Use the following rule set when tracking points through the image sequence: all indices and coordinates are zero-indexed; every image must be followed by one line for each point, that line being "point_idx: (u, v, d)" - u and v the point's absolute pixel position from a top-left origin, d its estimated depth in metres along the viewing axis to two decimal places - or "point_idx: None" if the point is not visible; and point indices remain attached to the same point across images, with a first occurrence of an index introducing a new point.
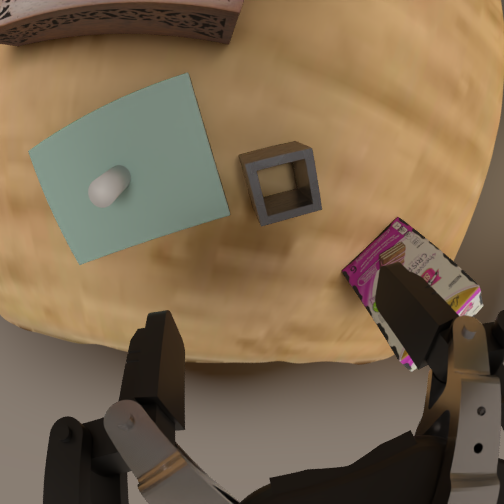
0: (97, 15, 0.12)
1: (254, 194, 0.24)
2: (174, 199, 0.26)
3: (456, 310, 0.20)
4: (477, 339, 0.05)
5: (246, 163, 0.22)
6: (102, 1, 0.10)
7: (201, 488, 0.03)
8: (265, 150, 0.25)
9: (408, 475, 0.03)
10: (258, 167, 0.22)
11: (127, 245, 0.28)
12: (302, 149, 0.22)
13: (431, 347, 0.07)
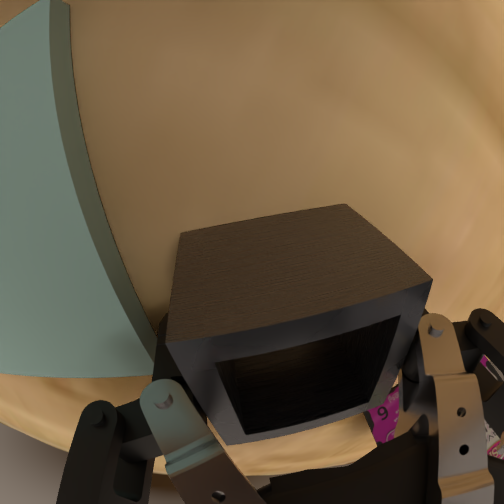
0: None
1: (207, 409, 0.06)
2: (36, 328, 0.09)
3: None
4: (444, 338, 0.06)
5: (174, 333, 0.05)
6: None
7: (231, 475, 0.04)
8: (260, 236, 0.08)
9: (408, 475, 0.03)
10: (223, 354, 0.05)
11: None
12: (401, 280, 0.06)
13: None
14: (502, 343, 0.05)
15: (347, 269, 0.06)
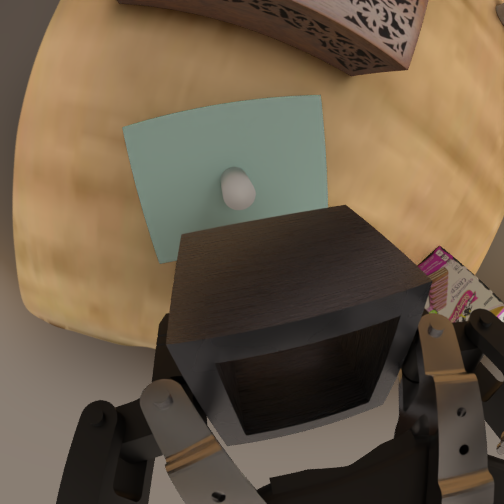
0: (266, 7, 0.14)
1: (208, 409, 0.06)
2: (284, 210, 0.28)
3: None
4: (444, 338, 0.06)
5: (174, 335, 0.05)
6: (299, 1, 0.12)
7: (231, 475, 0.04)
8: (260, 237, 0.08)
9: (408, 475, 0.03)
10: (223, 355, 0.05)
11: None
12: (401, 282, 0.06)
13: None
14: (502, 343, 0.05)
15: (347, 270, 0.06)
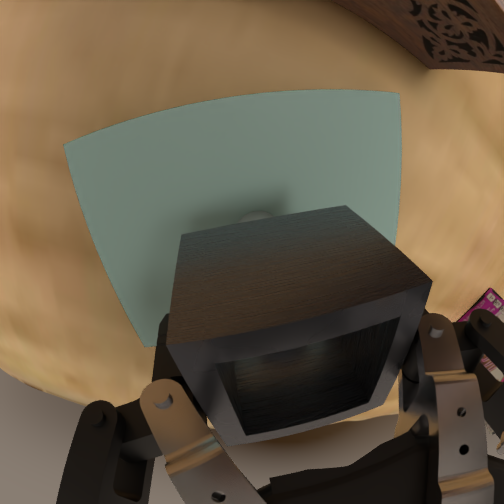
0: None
1: (208, 410, 0.06)
2: None
3: None
4: (444, 338, 0.06)
5: (174, 335, 0.05)
6: None
7: (231, 474, 0.04)
8: (260, 237, 0.08)
9: (408, 475, 0.03)
10: (223, 356, 0.05)
11: None
12: (401, 282, 0.06)
13: None
14: (502, 343, 0.05)
15: (347, 271, 0.06)
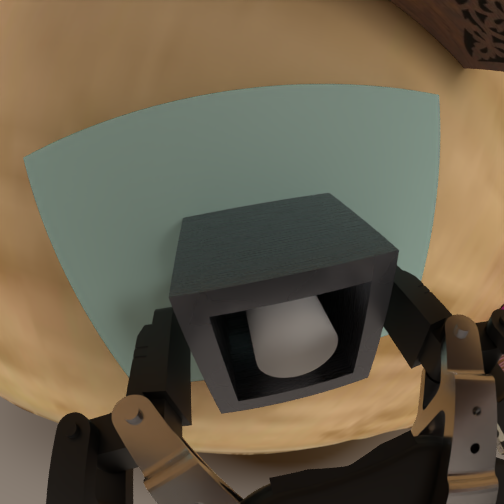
0: None
1: (203, 368, 0.08)
2: None
3: None
4: (470, 338, 0.05)
5: (176, 290, 0.06)
6: None
7: (208, 485, 0.03)
8: (251, 218, 0.10)
9: (408, 475, 0.03)
10: (216, 308, 0.07)
11: None
12: (369, 250, 0.07)
13: (424, 346, 0.07)
14: None
15: (323, 242, 0.07)
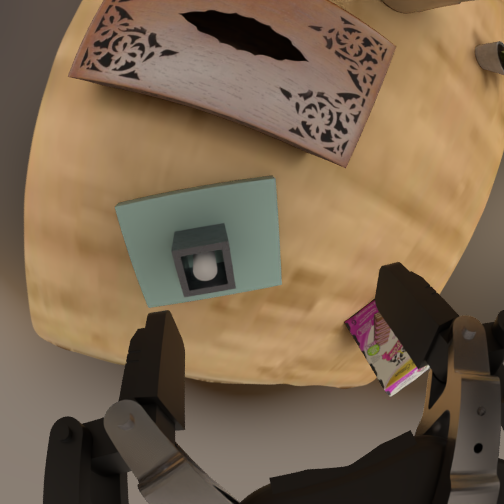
0: (225, 115, 0.22)
1: (178, 274, 0.29)
2: (244, 270, 0.36)
3: None
4: (477, 339, 0.05)
5: (173, 250, 0.28)
6: (249, 121, 0.20)
7: (201, 488, 0.03)
8: (195, 232, 0.31)
9: (408, 475, 0.03)
10: (182, 254, 0.28)
11: (198, 298, 0.37)
12: (220, 241, 0.28)
13: (431, 347, 0.07)
14: None
15: (210, 239, 0.29)
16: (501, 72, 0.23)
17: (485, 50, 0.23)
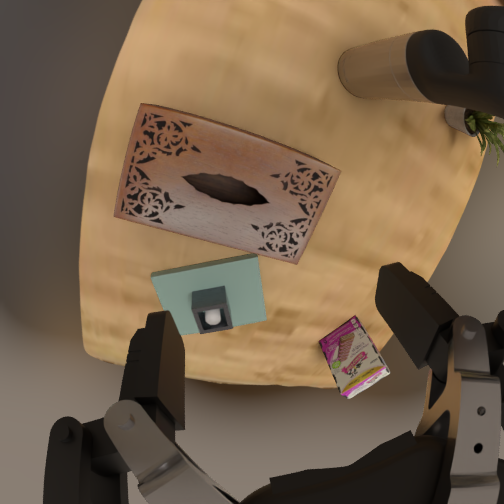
0: None
1: (196, 321, 0.45)
2: (240, 312, 0.52)
3: (371, 375, 0.47)
4: (477, 339, 0.05)
5: (192, 308, 0.44)
6: (233, 246, 0.36)
7: (201, 488, 0.03)
8: (205, 293, 0.47)
9: (408, 475, 0.03)
10: (198, 311, 0.44)
11: None
12: (222, 303, 0.45)
13: (431, 347, 0.07)
14: None
15: (215, 300, 0.45)
16: (466, 133, 0.36)
17: (453, 112, 0.36)
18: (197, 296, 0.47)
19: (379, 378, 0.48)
